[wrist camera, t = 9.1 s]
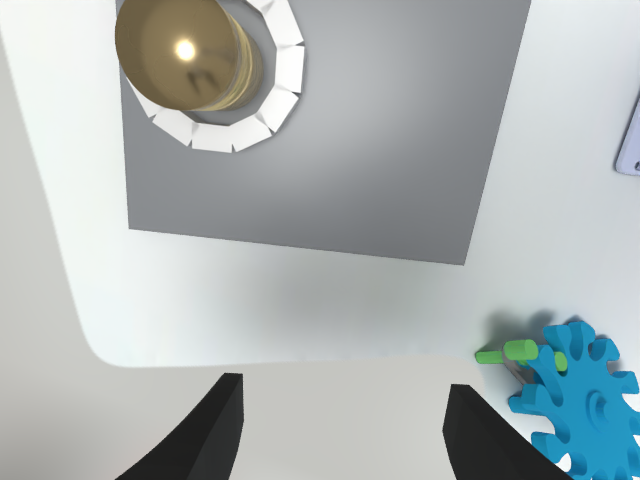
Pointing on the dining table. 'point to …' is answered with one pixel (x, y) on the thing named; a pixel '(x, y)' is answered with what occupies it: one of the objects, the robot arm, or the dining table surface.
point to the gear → (576, 400)
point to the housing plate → (337, 130)
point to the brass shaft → (187, 54)
